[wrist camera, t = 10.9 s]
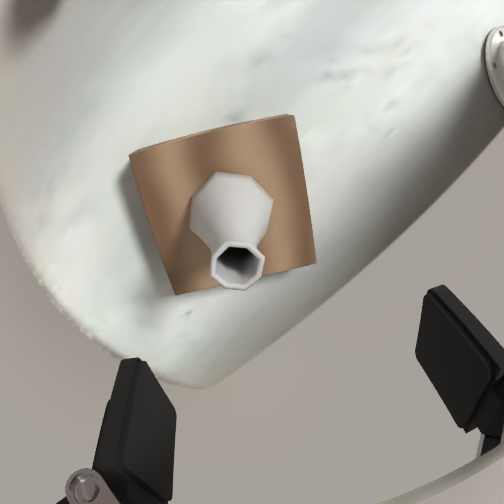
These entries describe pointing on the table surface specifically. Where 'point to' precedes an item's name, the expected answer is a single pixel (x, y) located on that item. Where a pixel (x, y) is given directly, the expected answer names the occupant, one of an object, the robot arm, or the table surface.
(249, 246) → the flask
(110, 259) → the table surface
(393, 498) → the robot arm
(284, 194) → the flat wooden block
